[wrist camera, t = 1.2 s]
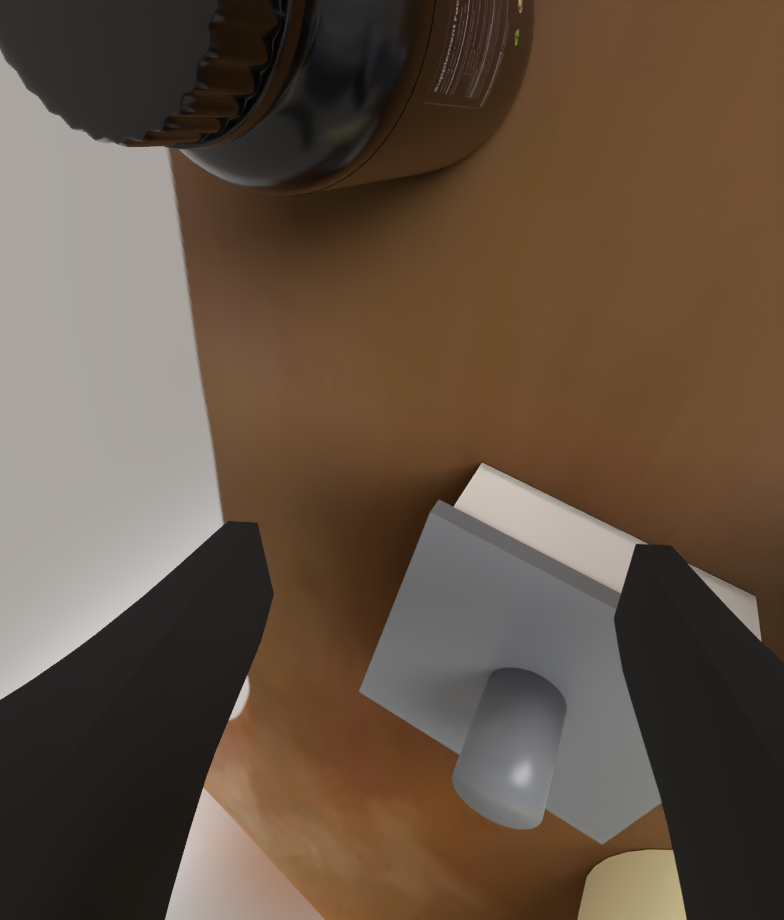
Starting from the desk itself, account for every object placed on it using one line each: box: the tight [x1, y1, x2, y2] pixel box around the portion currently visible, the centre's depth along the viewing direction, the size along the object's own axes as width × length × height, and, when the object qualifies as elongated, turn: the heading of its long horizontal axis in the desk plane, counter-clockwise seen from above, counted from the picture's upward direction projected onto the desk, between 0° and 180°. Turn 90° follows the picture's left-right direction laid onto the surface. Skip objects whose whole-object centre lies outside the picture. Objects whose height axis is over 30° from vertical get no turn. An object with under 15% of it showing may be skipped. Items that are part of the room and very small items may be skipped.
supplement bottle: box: [0, 0, 534, 196], centre depth 11 cm, size 7×7×12 cm
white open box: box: [454, 463, 762, 642], centre depth 22 cm, size 11×11×4 cm
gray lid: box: [359, 500, 662, 845], centre depth 19 cm, size 12×12×5 cm
